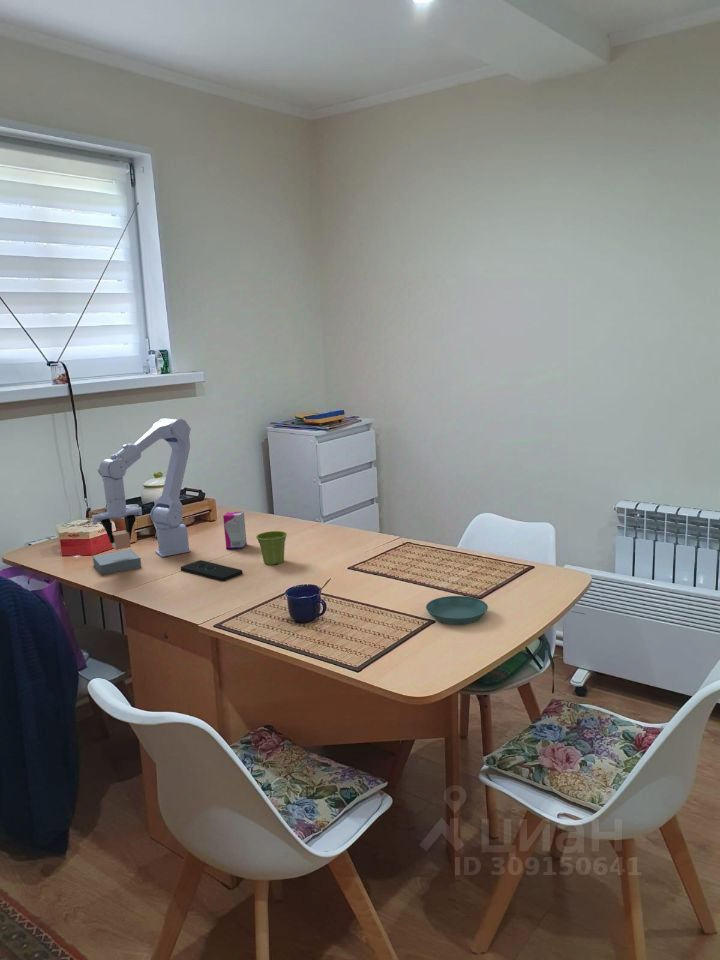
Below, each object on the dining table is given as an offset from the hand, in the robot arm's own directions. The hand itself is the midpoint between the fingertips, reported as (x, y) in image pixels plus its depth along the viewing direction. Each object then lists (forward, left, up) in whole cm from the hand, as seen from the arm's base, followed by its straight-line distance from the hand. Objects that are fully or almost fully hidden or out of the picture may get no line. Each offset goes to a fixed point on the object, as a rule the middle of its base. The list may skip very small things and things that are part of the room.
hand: (120, 540), depth 234 cm
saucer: (-58, +95, -9) cm, 111 cm away
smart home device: (-21, +23, -9) cm, 32 cm away
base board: (+1, -2, -8) cm, 9 cm away
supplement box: (-37, +2, -9) cm, 38 cm away
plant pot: (-40, +26, -9) cm, 48 cm away
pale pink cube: (0, 0, -2) cm, 2 cm away
